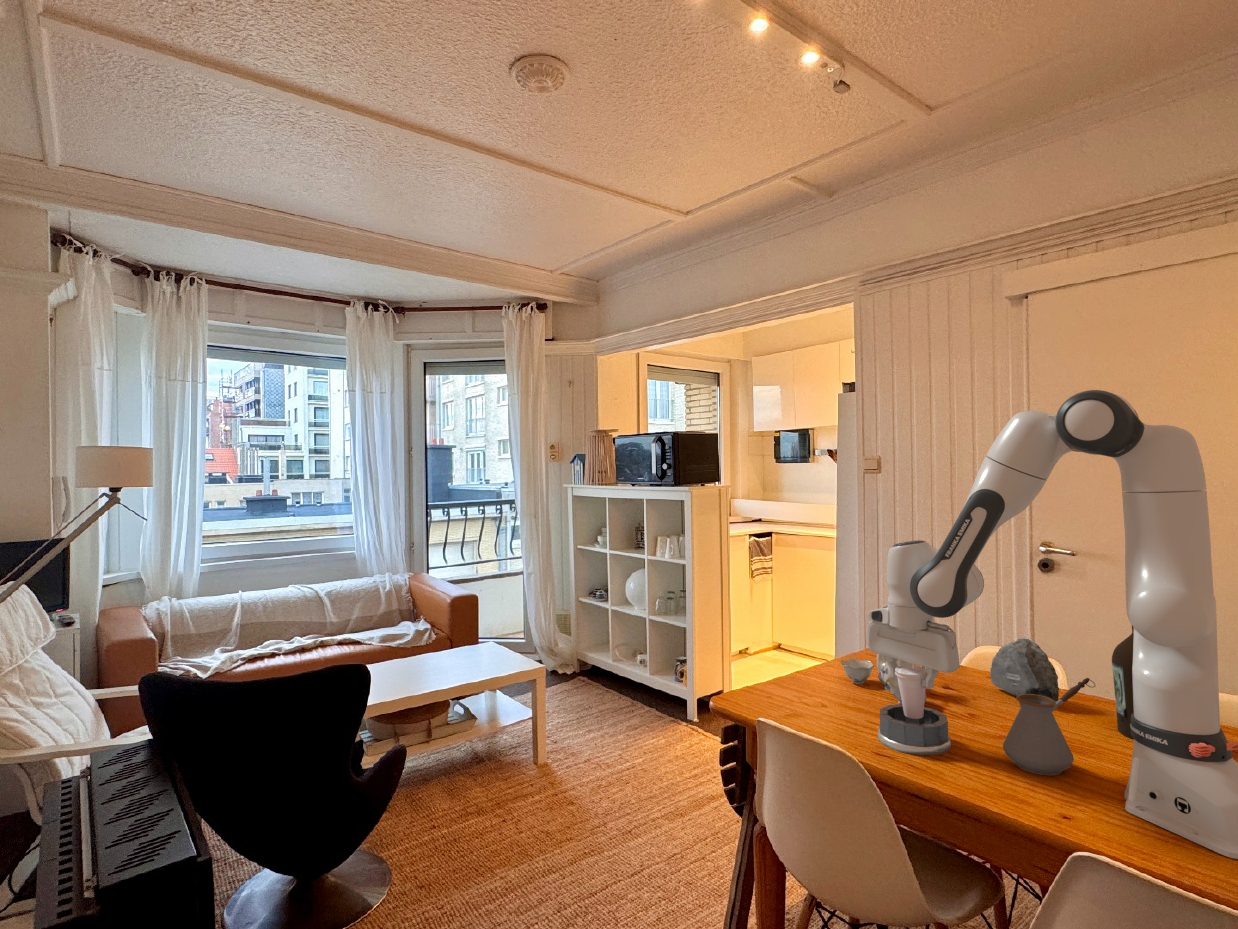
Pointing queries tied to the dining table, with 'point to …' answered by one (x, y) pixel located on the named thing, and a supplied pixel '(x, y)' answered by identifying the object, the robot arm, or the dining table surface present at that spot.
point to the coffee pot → (1040, 735)
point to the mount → (914, 731)
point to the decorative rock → (1024, 670)
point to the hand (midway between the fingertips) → (911, 682)
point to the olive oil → (1123, 684)
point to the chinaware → (863, 670)
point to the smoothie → (912, 689)
